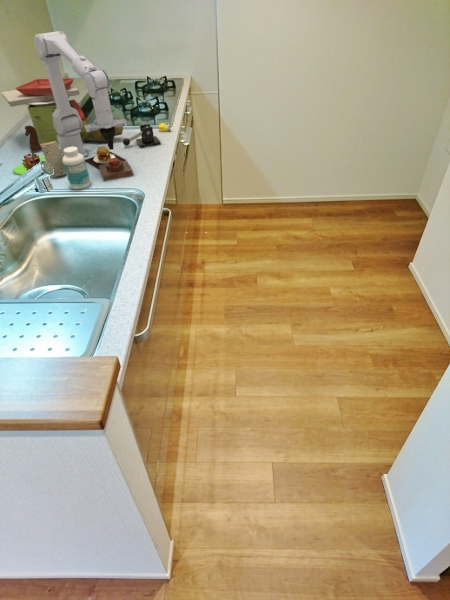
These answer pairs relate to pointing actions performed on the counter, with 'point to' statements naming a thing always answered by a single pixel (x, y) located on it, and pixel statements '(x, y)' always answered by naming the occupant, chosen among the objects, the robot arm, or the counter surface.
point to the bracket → (147, 137)
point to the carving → (54, 157)
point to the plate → (43, 103)
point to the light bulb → (163, 127)
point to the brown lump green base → (28, 163)
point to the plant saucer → (41, 87)
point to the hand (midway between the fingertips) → (111, 148)
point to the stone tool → (97, 132)
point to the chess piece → (33, 138)
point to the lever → (132, 138)
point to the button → (113, 161)
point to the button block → (115, 170)
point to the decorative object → (77, 107)
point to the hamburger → (102, 157)
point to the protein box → (44, 122)
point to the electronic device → (32, 96)
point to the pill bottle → (76, 168)
